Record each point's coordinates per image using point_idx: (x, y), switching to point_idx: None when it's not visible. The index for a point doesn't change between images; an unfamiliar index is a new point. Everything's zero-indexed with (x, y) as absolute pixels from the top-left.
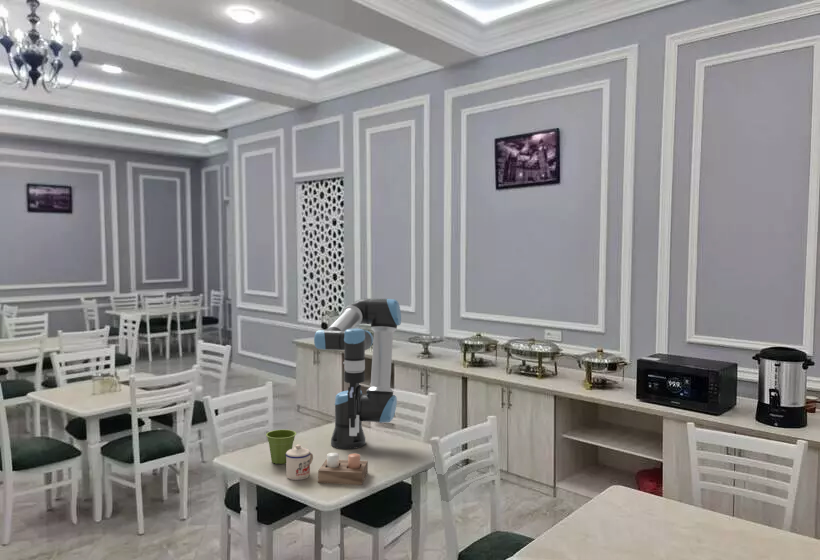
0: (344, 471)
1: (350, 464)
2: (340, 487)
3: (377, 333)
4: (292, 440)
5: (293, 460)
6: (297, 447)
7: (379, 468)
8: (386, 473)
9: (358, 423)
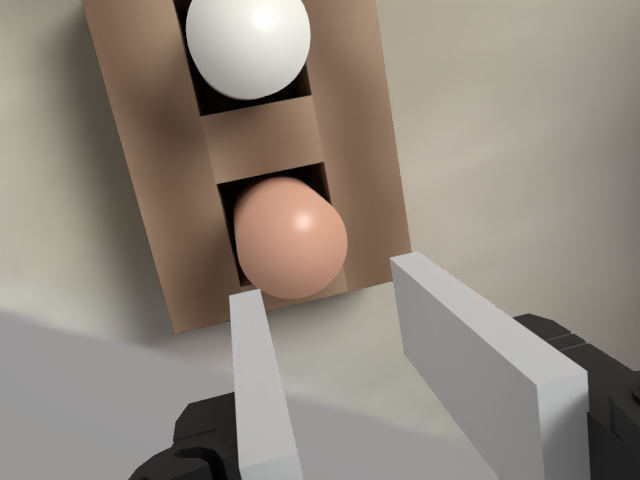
0: (145, 201)
1: (236, 219)
2: (86, 187)
3: None
4: None
5: None
6: None
7: (476, 291)
8: (409, 361)
9: (462, 425)
